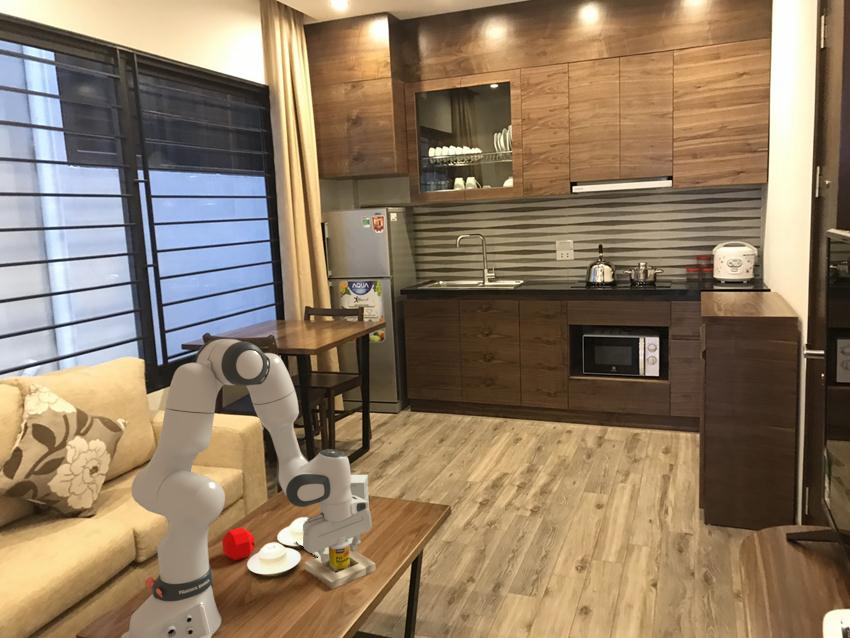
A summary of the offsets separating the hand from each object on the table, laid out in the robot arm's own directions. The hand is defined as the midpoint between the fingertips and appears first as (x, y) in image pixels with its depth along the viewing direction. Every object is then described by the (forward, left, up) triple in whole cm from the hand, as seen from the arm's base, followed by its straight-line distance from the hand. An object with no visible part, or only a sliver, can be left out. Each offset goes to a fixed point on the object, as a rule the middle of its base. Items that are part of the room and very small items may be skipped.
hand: (339, 555), depth 187 cm
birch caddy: (0, 0, -4) cm, 4 cm away
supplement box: (+23, +26, -4) cm, 35 cm away
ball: (-17, +27, -4) cm, 32 cm away
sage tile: (+6, +16, -4) cm, 17 cm away
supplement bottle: (0, 0, -4) cm, 4 cm away
